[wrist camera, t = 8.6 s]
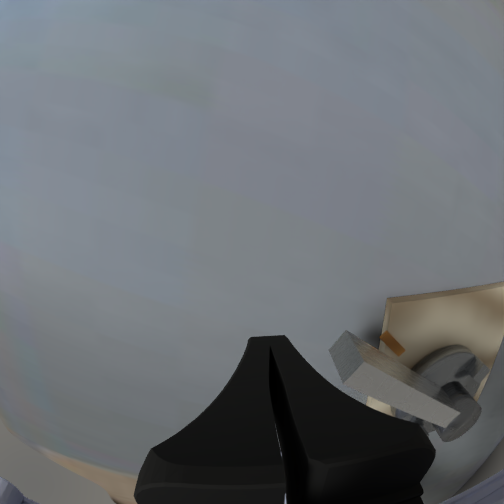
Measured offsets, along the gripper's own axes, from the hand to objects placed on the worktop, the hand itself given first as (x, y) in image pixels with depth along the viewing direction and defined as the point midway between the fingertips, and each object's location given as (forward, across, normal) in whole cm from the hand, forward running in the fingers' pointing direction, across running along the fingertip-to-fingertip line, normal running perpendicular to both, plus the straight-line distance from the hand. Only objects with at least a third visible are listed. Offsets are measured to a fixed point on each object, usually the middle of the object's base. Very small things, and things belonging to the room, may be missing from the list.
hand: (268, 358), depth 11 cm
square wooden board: (+10, -18, +11) cm, 23 cm away
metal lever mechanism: (+9, -13, +10) cm, 19 cm away
